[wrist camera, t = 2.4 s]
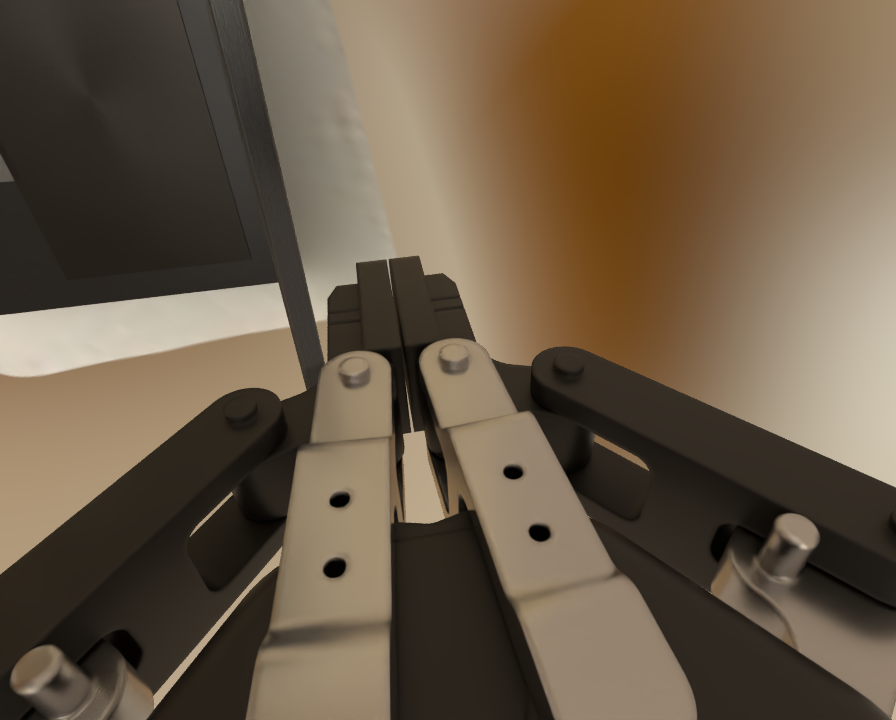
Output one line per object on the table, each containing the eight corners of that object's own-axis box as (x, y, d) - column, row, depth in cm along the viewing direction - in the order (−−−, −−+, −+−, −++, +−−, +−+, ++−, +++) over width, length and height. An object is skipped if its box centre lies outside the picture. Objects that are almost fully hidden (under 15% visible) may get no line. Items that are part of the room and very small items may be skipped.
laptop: (-6, 303, 39) (-19, 318, 38) (-346, -226, 23) (-391, -236, 22) (283, 270, 42) (281, 283, 40) (156, -236, 25) (145, -246, 24)
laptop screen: (333, 492, 25) (352, 486, 26) (65, -525, 9) (125, -518, 9) (281, 282, 40) (294, 279, 40) (146, -245, 24) (168, -245, 24)
